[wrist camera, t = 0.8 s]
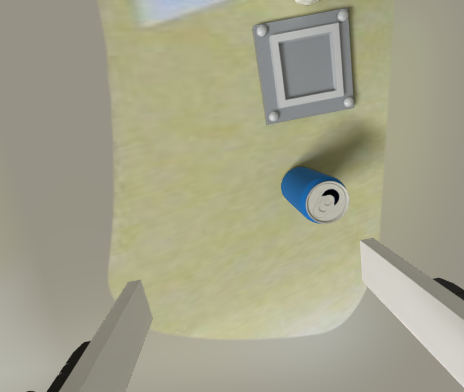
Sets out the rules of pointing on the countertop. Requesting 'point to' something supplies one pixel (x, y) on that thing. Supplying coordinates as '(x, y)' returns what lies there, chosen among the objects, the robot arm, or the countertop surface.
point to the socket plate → (304, 65)
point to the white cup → (306, 2)
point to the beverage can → (315, 195)
